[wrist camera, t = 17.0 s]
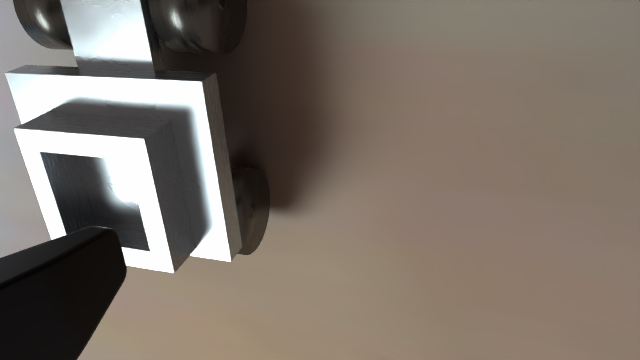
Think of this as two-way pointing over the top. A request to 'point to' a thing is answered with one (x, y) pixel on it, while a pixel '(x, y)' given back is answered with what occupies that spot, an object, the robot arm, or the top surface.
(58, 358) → the robot arm
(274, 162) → the top surface
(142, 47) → the grey toy car
